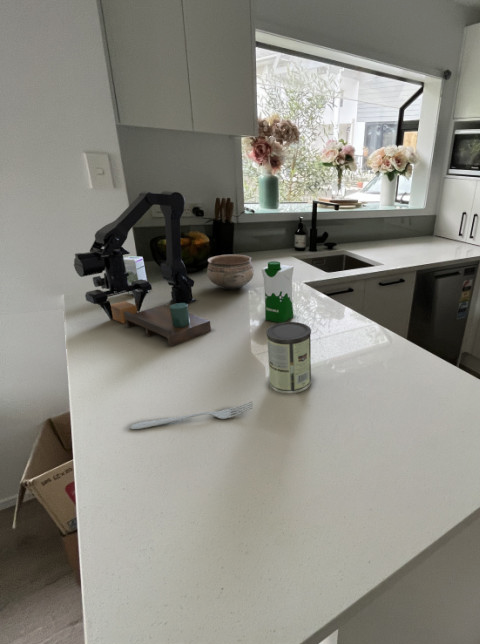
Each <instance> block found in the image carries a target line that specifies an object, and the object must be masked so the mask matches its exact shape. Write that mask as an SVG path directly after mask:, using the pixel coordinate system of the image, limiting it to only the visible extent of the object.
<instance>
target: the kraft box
mask: <svg viewBox="0 0 480 644" xmlns="http://www.w3.org/2000/svg"><path fill="white" fill-rule="evenodd" d="M110 305H111V310H112V315H113V320H114V321H117V322H118V323H121V324H123V325H126V320H125V316H124V312H125V311H128V312H130V313H132V314H134V313H137V307H136V305H135V303H131V302H128V301H126V300H123V301H120V302H115V303H112V304H110Z"/></svg>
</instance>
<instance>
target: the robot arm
mask: <svg viewBox="0 0 480 644" xmlns="http://www.w3.org/2000/svg"><path fill="white" fill-rule="evenodd" d="M154 205H155V206H159V208H160V209H159V210H160V211H161V213H162V215H163V217H164V226H165V227H164V228H165V250H166V259H165V261H164V262H163V263H160V269H161V270H160V276H162V279H163V280H164V281H165V282H167V284H168V286H171V287H170V288H171V291H170V294H171V300H170V302H172V303H173V304H176V303H186V304H187V305H188V304H190V303H193V302H197V301H196V299H195V298H194V297H193V296H194V295H193V289H192V288H193V287H194V285H195V280H193V279H192V278H191V277H189V276H188V274H187V273H188V272H187V268H186V266H185V264H184V262H183V260H182V237H181V235H182V234H181V233H182V232H181V218H182V216H183V214H184V213H185V205H186V200H185V197H184V196H183V194H182V193H180V192H178V191H170V190H163V191H162V192H160V193H157V192H152V191H141V192H140V193H139V194H138V197H136V199H134V200H133V201H132V202H131V203H130V205H128V206H127V208H126V209H125V210H124V211H122V213H121V214H120V215H119V216H118V217H117V218H116V219H115V220H113V221H111V222H109V223H107V224H105V225H103V226H102V227H101V228H100V229H98V230H97V231H95V234H94V241H93V243H92V244H91V247H90V249H89V252H76V253H74V257H75V258H74V259H73V267H74V271H75V272H76V273H77V275H78V276H79V277H81V278H83V277H88V276H93V275H96V276H93V277H92V282H93V285H94V287H95V288H99V287H101V289H102V290H101V289H94V290H89V291H86V293H85V295H84V298H85V301H87V302H88V303H91V304H94V305H98V306H99V307H100V308H102V310H103V311H104V313H105V314H106V315H107V317H108V318H109V320H111V321H113V320H114V319H113V315H112V310H111V305H112V304H111V302H110V301H109V300H108V299H109V298H110V297H113V296H117V295H121V294H124V293H125V294H126V293H128V292H129V291H132V293H133V295H132V296H133V299H134V305H136V307H137V312H141V309H142V306H143V302H144V300H145V298H146V296H147V294H149V292H150V291H152V290H153V286H152V284H151V282H150V281H148V280H147V281H145V280H142V279H141V280H136V281H132V283H131V285H129V283H128V278H127V276H129V273H127V272H126V268H125V263H124V258H125V257H124V256H125V255H126V256H127V255H130V254H131V251H129V250H127V249H126V248H125V247H124V246H123V245H124V244H125V242H126V240H127V239H128V237H129V233H130V231H131V229H132V228H133V227H135V225H136V224H137V223H138V222H139V221H140V220H141V219H142V217H144V215H145V214H146V213H147V212H148V211H149V210H150V209H151V208H152V207H153V206H154ZM102 273H103V277H101V276H100V275H98V274H102ZM97 275H98V276H97ZM104 289H106V290H105V291H103V290H104ZM148 291H149V292H148Z"/></svg>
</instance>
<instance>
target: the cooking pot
mask: <svg viewBox="0 0 480 644" xmlns="http://www.w3.org/2000/svg"><path fill="white" fill-rule="evenodd" d="M207 262H208V265H207V269H206V271H207V272H206V275H207V278H208V279H209V281H210V282H211V283H212V284H214V285H216V286H217V287H220V288H223V289H224V290H227V291H235V290H239V289H241V288H242V287H243V286H245V285H247V284H248V283H250V282H251V281H252V279H253V277H254V275H255V269H254V266H253V263H252V257H251V256H248V255H245V254H231V253H230V254H221V255H219V254H218V255H215V256H211V257H209V258H208V259H207Z"/></svg>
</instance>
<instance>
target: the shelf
mask: <svg viewBox="0 0 480 644" xmlns="http://www.w3.org/2000/svg"><path fill="white" fill-rule="evenodd" d="M170 306H171V305H169V304H166V303H165V304H161V305H158V306H155V307H151V308H148V309H145V310H140V312H137V313H134V314H132V313H130V312H128V311H125V312H124V316H125V320H126V323H125V325H126V327H127V328H130V327H133V326H139V327H142V328H145V329H144V330H145V333H146V336H147V337H152V336H154V335H157V334H158V335H160V336H162V337H165V338H167V343H168V346H169V347H174V346H176V345H180V344H182V343H184V342H187V341H189V340H192V339H194V338H196V337H199V336H202V335H204V334H206V333H209V332H211V331H212V326H211V321H210V320H209V319H206V318H204V317H200V316H198V315H195V314H193V313H190V312H189V318H190V324H189V325H188V326H185V327H174V326H173V325H172V319H171V312H170Z"/></svg>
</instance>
